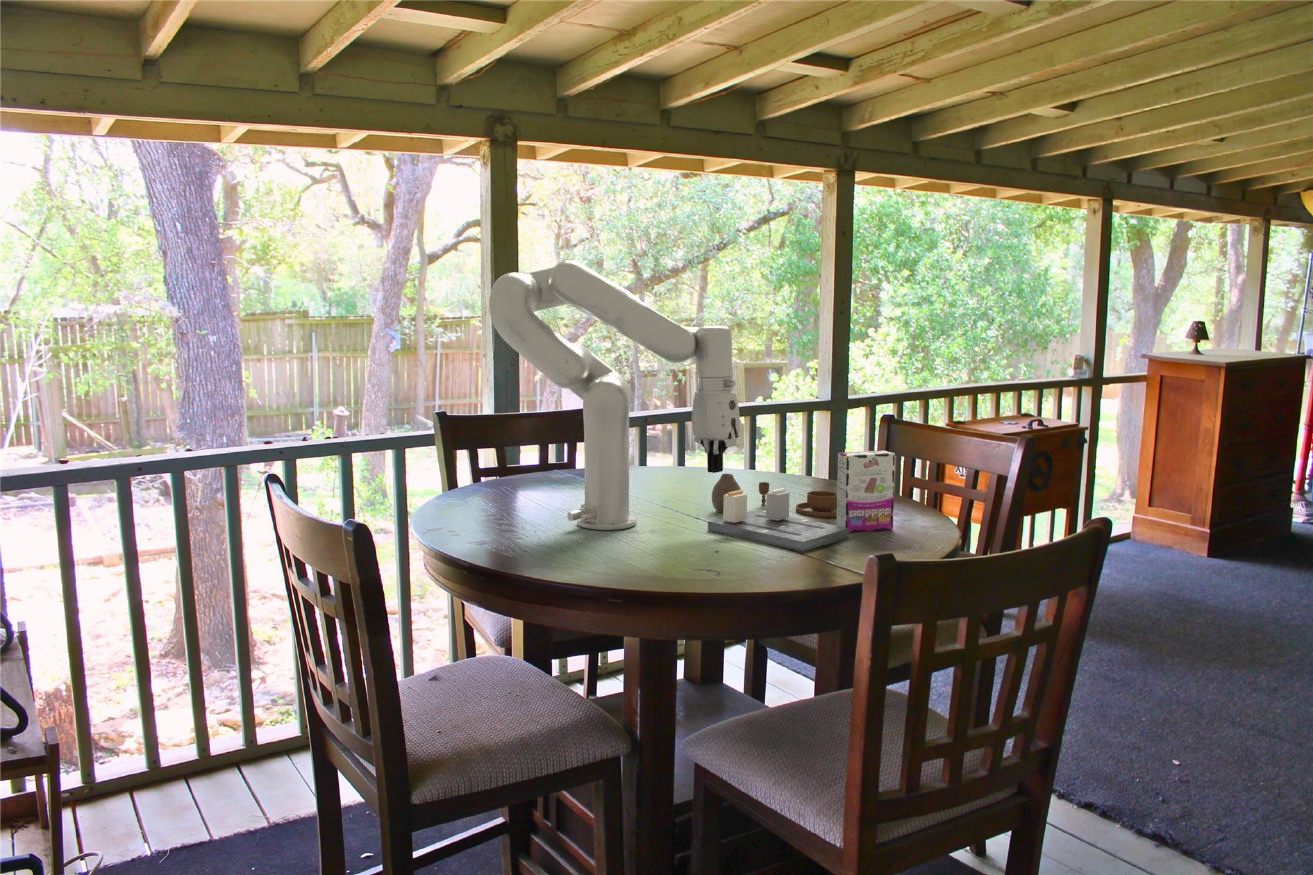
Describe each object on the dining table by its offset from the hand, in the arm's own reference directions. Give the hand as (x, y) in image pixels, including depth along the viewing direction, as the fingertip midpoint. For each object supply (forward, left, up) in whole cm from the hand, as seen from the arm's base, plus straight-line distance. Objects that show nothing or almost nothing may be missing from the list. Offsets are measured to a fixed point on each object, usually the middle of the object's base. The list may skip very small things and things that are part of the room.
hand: (715, 471), depth 193 cm
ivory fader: (0, -6, -9) cm, 11 cm away
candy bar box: (+21, -24, -12) cm, 34 cm away
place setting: (+29, -4, -13) cm, 32 cm away
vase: (+13, +7, -12) cm, 19 cm away
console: (+4, -14, -12) cm, 19 cm away
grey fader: (+8, -11, -9) cm, 16 cm away
